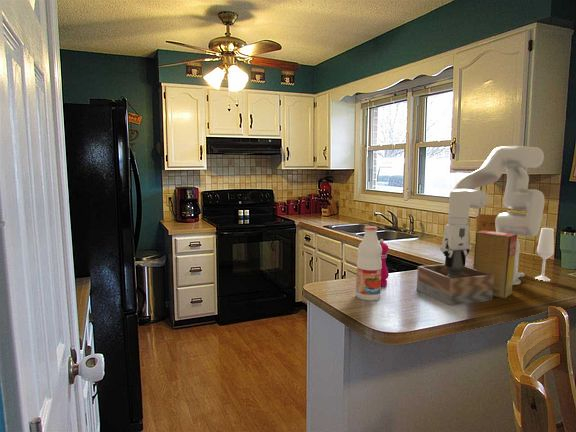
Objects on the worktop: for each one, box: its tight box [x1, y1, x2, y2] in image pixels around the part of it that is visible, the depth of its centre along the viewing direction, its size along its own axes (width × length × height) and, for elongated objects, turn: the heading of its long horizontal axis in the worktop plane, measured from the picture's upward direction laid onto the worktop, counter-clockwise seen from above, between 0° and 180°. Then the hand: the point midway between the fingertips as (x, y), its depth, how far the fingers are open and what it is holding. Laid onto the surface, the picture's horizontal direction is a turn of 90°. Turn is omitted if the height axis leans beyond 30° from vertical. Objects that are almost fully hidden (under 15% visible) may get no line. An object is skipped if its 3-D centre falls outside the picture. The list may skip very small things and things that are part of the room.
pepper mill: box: [379, 238, 390, 287], centre depth 173 cm, size 7×7×20 cm
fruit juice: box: [355, 225, 382, 302], centre depth 155 cm, size 9×9×28 cm
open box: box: [416, 263, 494, 306], centre depth 161 cm, size 20×20×10 cm
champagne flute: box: [534, 227, 555, 282], centre depth 186 cm, size 7×7×24 cm
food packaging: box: [472, 230, 518, 299], centre depth 164 cm, size 13×9×25 cm
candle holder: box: [447, 228, 465, 278], centre depth 160 cm, size 6×6×25 cm
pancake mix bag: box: [475, 213, 499, 235], centre depth 205 cm, size 7×19×28 cm, turn 55°
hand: (455, 265), depth 160 cm, fingers closed on candle holder, 5 cm apart
